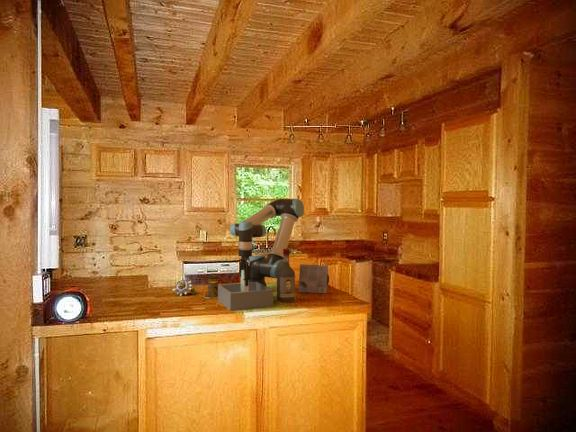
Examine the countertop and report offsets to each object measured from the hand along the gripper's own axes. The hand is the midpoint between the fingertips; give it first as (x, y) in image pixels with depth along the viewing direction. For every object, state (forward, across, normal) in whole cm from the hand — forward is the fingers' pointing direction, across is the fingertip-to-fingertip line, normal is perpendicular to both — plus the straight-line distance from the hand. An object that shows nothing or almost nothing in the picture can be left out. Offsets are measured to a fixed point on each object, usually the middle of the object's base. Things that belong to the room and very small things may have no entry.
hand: (244, 290), depth 221 cm
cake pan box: (+7, -10, +50) cm, 52 cm away
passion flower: (+7, -34, -27) cm, 44 cm away
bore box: (+7, 0, 0) cm, 7 cm away
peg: (+4, 0, 0) cm, 4 cm away
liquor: (+7, +3, +24) cm, 25 cm away
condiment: (+7, -23, -13) cm, 27 cm away
